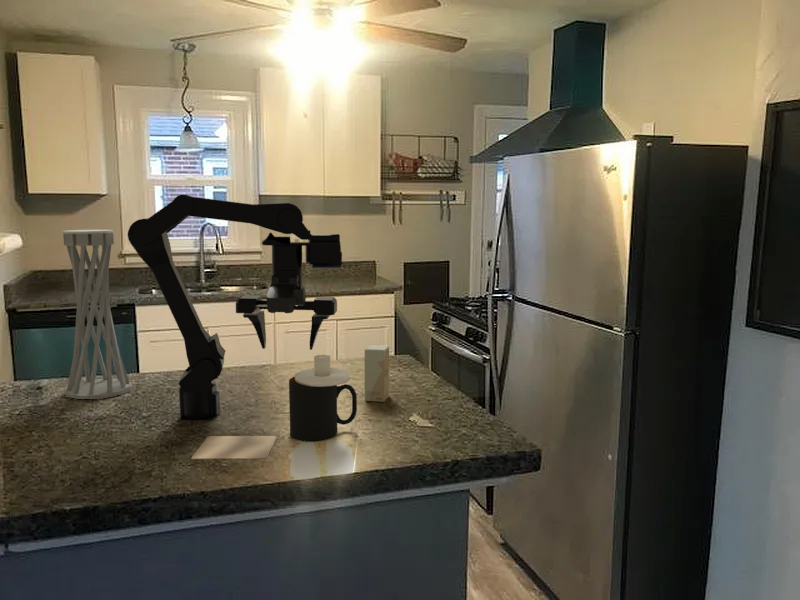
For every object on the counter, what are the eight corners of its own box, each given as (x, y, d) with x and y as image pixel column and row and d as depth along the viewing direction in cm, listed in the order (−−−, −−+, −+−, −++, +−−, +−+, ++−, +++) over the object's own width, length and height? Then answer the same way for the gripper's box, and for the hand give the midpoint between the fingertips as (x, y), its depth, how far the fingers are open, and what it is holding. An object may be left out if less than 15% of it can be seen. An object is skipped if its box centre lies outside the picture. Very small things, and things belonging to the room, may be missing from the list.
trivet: (190, 462, 103) (190, 458, 103) (208, 439, 113) (208, 436, 113) (266, 461, 104) (266, 458, 103) (277, 439, 113) (277, 436, 113)
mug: (362, 439, 114) (362, 382, 112) (294, 447, 110) (292, 387, 108) (351, 424, 121) (350, 370, 120) (286, 431, 118) (285, 375, 116)
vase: (117, 379, 152) (108, 228, 147) (143, 390, 143) (133, 230, 137) (55, 391, 142) (42, 230, 137) (78, 404, 133) (65, 232, 128)
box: (384, 402, 135) (384, 350, 133) (364, 401, 135) (363, 349, 134) (389, 395, 140) (389, 344, 138) (370, 394, 140) (369, 344, 139)
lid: (299, 371, 119) (298, 350, 118) (351, 371, 119) (351, 350, 118) (290, 386, 109) (290, 363, 109) (347, 386, 109) (347, 363, 109)
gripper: (226, 272, 116) (228, 357, 119) (330, 274, 116) (330, 359, 119) (242, 266, 127) (243, 344, 130) (337, 268, 127) (337, 346, 130)
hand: (287, 348), depth 127 cm, fingers open, 9 cm apart
